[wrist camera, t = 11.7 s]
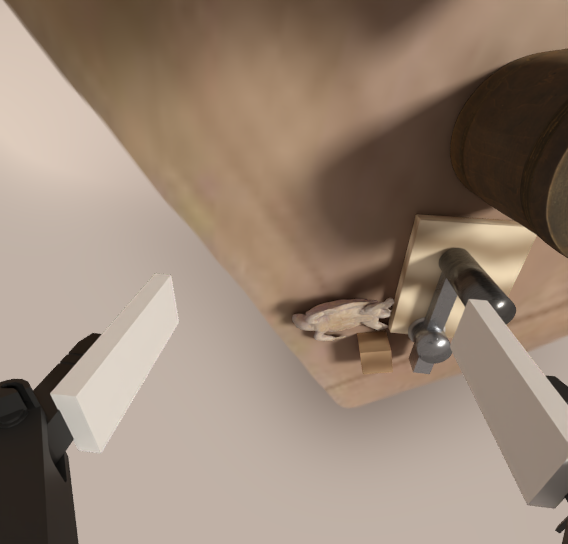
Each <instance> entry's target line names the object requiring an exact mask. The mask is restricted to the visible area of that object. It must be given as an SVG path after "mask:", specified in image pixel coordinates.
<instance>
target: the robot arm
mask: <svg viewBox="0 0 568 544" xmlns="http://www.w3.org/2000/svg"><path fill="white" fill-rule="evenodd" d="M178 323H179V318H178V312H177V306H176V300H175V295H174V289H173V283H172V277H171V275H168V274H156V273H155V274H154V275H153V276H152V277H151V278H150V280H149V281H148V282H147V283H146V284H145V285H144V286H143V288H142V289H141V290H140V291H139V292H138V293H137V294H136V296H135V297H134V298H133V299H132V300H131V301H130V302H129V304H128V305H127V306H126V307H125V308H124V309H123V311H122V312H121V313H120V314H119V315H118V316H117V317H116V319H115V320H114V321H113V322H112V323H111V324H110V325H109V327H108V328H107V329H106V330H105V331H104V332H103V333H102V334H97V333H92V334H91V335H89V336H87V337H86V338H84V339H83V340H81V341H79V342H78V343H77V344H76V345H75V346H74V348H73V349H72V350H71V351H70V352H69V354H68V355H66V356H65V357H64V358H63V359H62V361H61V362H60V364H58V365H57V366H56V367H55V368H54V369H53V370H52V371H51V372H50V373H49V374H48V375H47V376H46V377H45V379H44V380H43V381H42V382H41V383H40V384H39V385H38V386H37V387H36V388H35V389H34V390H32V388H31V386H30V384H29V383H28V382H27V381H25V380H23V379H11V380H6V381H3V382H0V544H78V536H77V527H76V520H75V511H74V502H73V494H72V485H71V477H70V468H69V460H68V455H67V453H66V450H67V448H68V447H69V445H70V444H71V442H72V441H74V442H75V444H76V446H77V448H78V450H79V451H86V452H95V453H102V451H103V450H104V448H105V446H106V445H107V443H108V441H109V439H110V438H111V436H112V434H113V433H114V431H115V429H116V428H117V426H118V424H119V423H120V421H121V419H122V417H123V416H124V414H125V412H126V411H127V409H128V407H129V406H130V404H131V402H132V401H133V399H134V397H135V396H136V394H137V392H138V391H139V389H140V387H141V385H142V384H143V382H144V380H145V379H146V377H147V375H148V374H149V372H150V370H151V368H152V367H153V365H154V364H155V362H156V360H157V358H158V357H159V355H160V353H161V352H162V350H163V348H164V347H165V345H166V343H167V341H168V340H169V338H170V337H171V335H172V333H173V331H174V330H175V328H176V326H177V325H178ZM450 348H451V351H452V353H453V355H454V357H455V359H456V361H457V363H458V365H459V367H460V369H461V371H462V373H463V375H464V377H465V379H466V381H467V383H468V385H469V387H470V389H471V391H472V393H473V395H474V397H475V399H476V401H477V403H478V405H479V408H480V410H481V412H482V414H483V415H484V418H485V419H486V422H487V424H488V426H489V428H490V430H491V432H492V434H493V436H494V438H495V440H496V442H497V444H498V446H499V448H500V450H501V452H502V454H503V456H504V458H505V460H506V462H507V464H508V467H509V469H510V471H511V473H512V475H513V477H514V478H515V481H516V483H517V485H518V487H519V489H520V491H521V493H522V495H523V497H524V499H525V501H526V503H527V505H530V506H539V507H547V508H556V507H557V506H558V505H559V504H560V502H561V501H562V500H563V499H564V498H566V500H567V502H568V386H566V385H565V384H564V383H562V382H561V381H560V380H559V379H558V378H556V377H555V376H545V375H544V374H543V372H542V371H541V370H540V368H539V367H538V366H537V365H536V363H535V362H534V361H533V359H532V358H531V357H530V355H529V354H528V353H527V352H526V350H525V349H524V348H523V346H522V345H521V344H520V342H519V341H518V340H517V339H516V337H515V336H514V335H513V333H512V332H511V331H510V329H509V328H508V327H507V326H506V324H505V323H504V322H503V320H502V319H501V318H500V316H499V315H498V314H497V313H496V311H495V310H494V309H493V307H492V306H491V305H490V303H489V302H488V301H487V300H475V299H468V302H467V304H466V307H465V309H464V312H463V314H462V317H461V319H460V322H459V324H458V327H457V329H456V332H455V334H454V337H453V340H452V342H451V345H450ZM564 529H565V533H564V537H563V542H562V544H568V516H567V517H566V518H565V519H564V520H563V521H562V522H561V524H559V525H558V527H557V528H556V530H555V531H557V532H558V533H561V532H562V531H563V530H564Z"/></svg>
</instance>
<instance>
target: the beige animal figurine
mask: <svg viewBox="0 0 568 544" xmlns="http://www.w3.org/2000/svg"><path fill="white" fill-rule="evenodd" d="M392 304H394V300H393V299H392V298H388V299H386V300H385V301H384V302H378V301H376V300H367V299H352V300H351V299H346V300H337V301H332V302H327V303H323V304H320V305H317V306H315V307H313V308H312V309H311V310H309V311H307V312H306V316H305V315H304V314H294V315H293V316H292V321H293V323H295V325H296V327H297V328H299V329H302V330H307V331H315V333H314V339H315V340H319V341H334V340H335V339H341V338H345V337H347V336H342V337H334V336H331V335H324V333H325V332H327V331H330V332H335V331H342V330H347V329H350V328H353V327H356V326H359V325H362V324H365V325H366V326H368V327H371V328H373V329H376V330H383V329H385V328H388V326H387V325H385V324H383V323H381V322H379V321H378V320H379V318H386V317H389V316H390V312H391V310H389V309H388V308H389V307H391V305H392Z"/></svg>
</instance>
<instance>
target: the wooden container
mask: <svg viewBox="0 0 568 544" xmlns="http://www.w3.org/2000/svg"><path fill="white" fill-rule="evenodd" d="M450 156H451V162H452V166H453V169H454V171H455V173H456V175H457V177H458V178H459V180H460V181H461V182H462V183H463V185H465V186H466V187H467V188H468V189H469V190H470V191H472V192H473V193H475V194H476V195H477V196H479V197H480V198H481V199H482V200H484V201H485V202H487V203H488V204H489V205H491V206H492V207H494V208H495V209H497V210H498V211H500V212H501V213H503V214H505V215H506V216H508V217H510V218H511V219H513V220H514V221H516V222H518V223H519V224H521V225H522V226H524V227H525V228H527V229H528V230H530V231H531V232H533V233H534V234H536V235H537V236H539V237H540V238H541V239H542V240H543V241H544V242H545V243H547V244H548V245H549V246H551V247H552V248H553V249H555V250H556V251H557V252H559V253H560V254H562V255H564V256H565V257H567V258H568V49H562V50H555V51H548V52H541V53H536V54H532V55H529V56H526V57H523V58H520V59H517V60H515V61H513V62H511V63H509V64H507V65H505V66H504V67H502V68H501V69H499V70H498V71H496V72H495V73H494V74H492V75H491V76H490V77H489V78H488V79H486V80H485V81H484V82H483V83H482V84H481V85H480V86H479V87H478V88H477V90H476V91H475V92H474V93H473V94H472V95H471V97H470V98H469V99H468V101H467V102H466V104H465V105H464V107H463V109H462V110H461V112H460V114H459V116H458V118H457V121H456V123H455V126H454V130H453V133H452V138H451V146H450Z"/></svg>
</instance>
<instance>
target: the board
mask: <svg viewBox="0 0 568 544" xmlns="http://www.w3.org/2000/svg"><path fill="white" fill-rule="evenodd" d="M536 236H537V235H536V234H534V233H533V232H531V231H530V230H528V229H527V228H525V227H524V226H522V225H521V224H519V223H518V222H516V221H511V220H496V219H481V218H466V217H450V216H435V215H420V214H416V217H415V220H414V224H413V228H412V232H411V236H410V240H409V244H408V248H407V252H406V256H405V259H404V263H403V267H402V271H401V275H400V279H399V283H398V287H397V291H396V295H395V299H394V304H393V306H392V310H391V314H390V318H389V322H388V326H389V329H390V333H401V334H408V336H409V338H410V339H411V341H413V339H412V336H411V331H412V329H413V327H414V326H415V325H416V324H418V323H420V322H423V321H424V319H425V316H426V314H427V311H428V308H429V306H430V303H431V300H432V297H433V295H434V292H435V289H436V287H437V284H438V281H439V278H440V276H441V273H442V271H441V269H440V267H439V259H440V257H441V256H442V254H443V253H444V252H446V251H447V250H449V249H452V248H463V249H465V250H467V251H468V252H469V253H470V254H471V256H472V257H473V258H474V259H475V260H476V261H477V262H478V264H479V265H480V266H481V267H482V268H483V269H484V270H485V272H486V273H487V274H488V275H489V276H490V277H491V278H492V279H493V281H494V282H495V283H496V284H497V285H498V286H499V287H500V289H501V290H502V291H503V292H504V293H505V294H506V295H507V297H508V295H509V293H510V291H511V289H512V287H513V285H514V282H515V280H516V278H517V276H518V274H519V272H520V270H521V268H522V266H523V263H524V261H525V259H526V257H527V255H528V253H529V251H530V249H531V247H532V244H533V242H534V240H535V238H536ZM464 309H465V306H464V305H463V303H462V302H461V300H460V298H459V297H458V295H457V298H456V300H455V303H454V305H453V307H452V310H451V312H450V315H449V317H448V320H447V322H446V324H445V327H444V329H443V330H444V332H445V334H446V336H447V338H453V337H454V334H455V332H456V329H457V327H458V324H459V322H460V319H461V317H462V314H463V312H464ZM413 342H414V341H413Z"/></svg>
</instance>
